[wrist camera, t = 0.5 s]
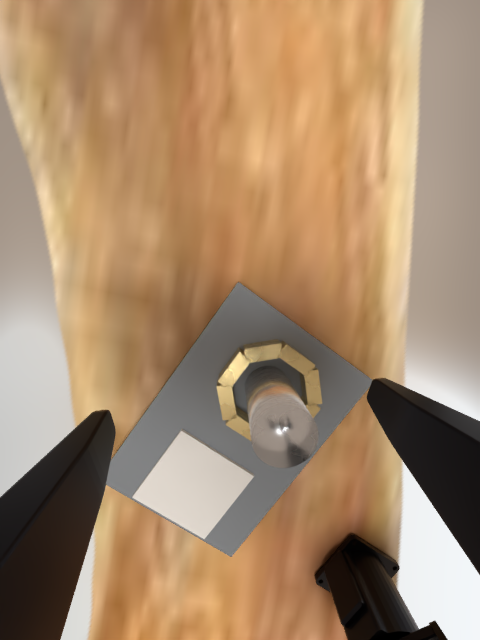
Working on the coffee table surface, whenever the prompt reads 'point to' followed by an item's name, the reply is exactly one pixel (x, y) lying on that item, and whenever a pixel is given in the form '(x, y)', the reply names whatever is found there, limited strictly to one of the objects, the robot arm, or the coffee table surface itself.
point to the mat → (193, 484)
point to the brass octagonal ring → (261, 353)
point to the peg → (278, 419)
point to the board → (205, 413)
